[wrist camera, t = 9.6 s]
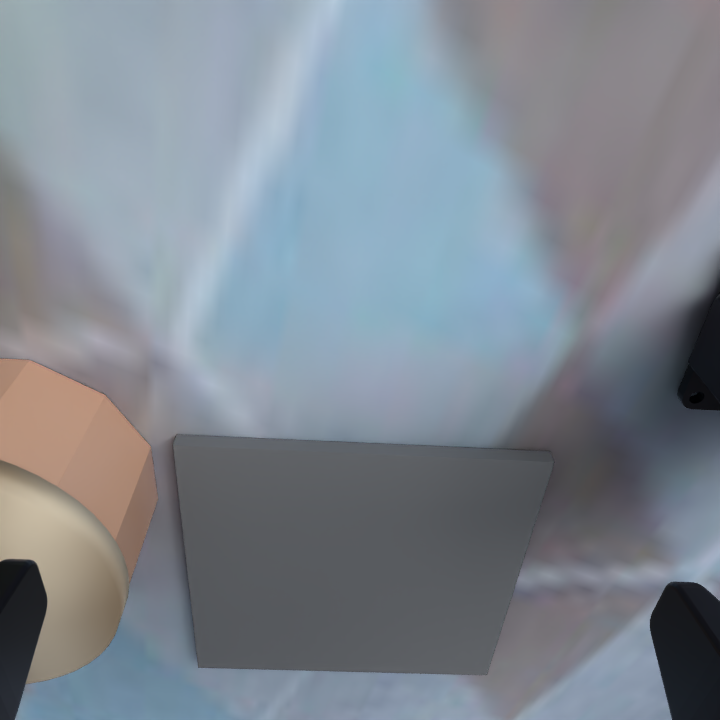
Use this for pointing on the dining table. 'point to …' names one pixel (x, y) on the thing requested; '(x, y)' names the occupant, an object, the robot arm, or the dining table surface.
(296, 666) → the mat
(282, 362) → the dining table surface
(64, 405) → the bowl
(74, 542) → the lid
